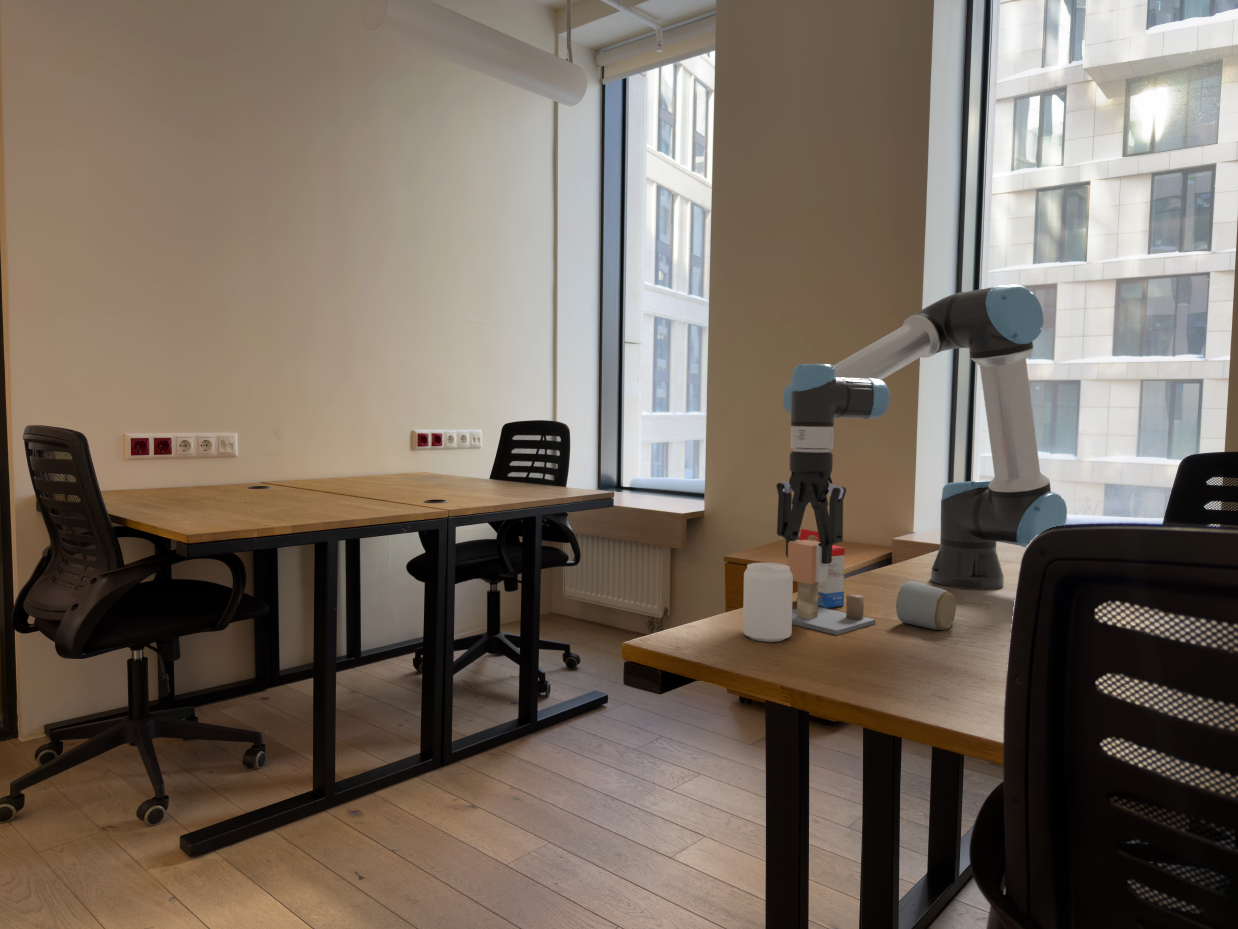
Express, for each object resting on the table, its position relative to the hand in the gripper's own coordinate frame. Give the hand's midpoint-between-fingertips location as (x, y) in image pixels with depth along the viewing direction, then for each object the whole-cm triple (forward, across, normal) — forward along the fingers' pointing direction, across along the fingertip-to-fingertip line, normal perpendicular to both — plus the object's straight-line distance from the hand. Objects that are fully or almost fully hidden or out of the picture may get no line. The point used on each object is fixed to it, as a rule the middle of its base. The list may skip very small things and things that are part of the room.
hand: (807, 578), depth 148 cm
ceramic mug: (+8, +15, +15) cm, 23 cm away
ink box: (+8, -7, +14) cm, 18 cm away
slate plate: (+8, +2, +2) cm, 8 cm away
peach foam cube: (0, 0, 0) cm, 0 cm away
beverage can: (+8, +2, -14) cm, 16 cm away
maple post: (+8, 0, 0) cm, 8 cm away
